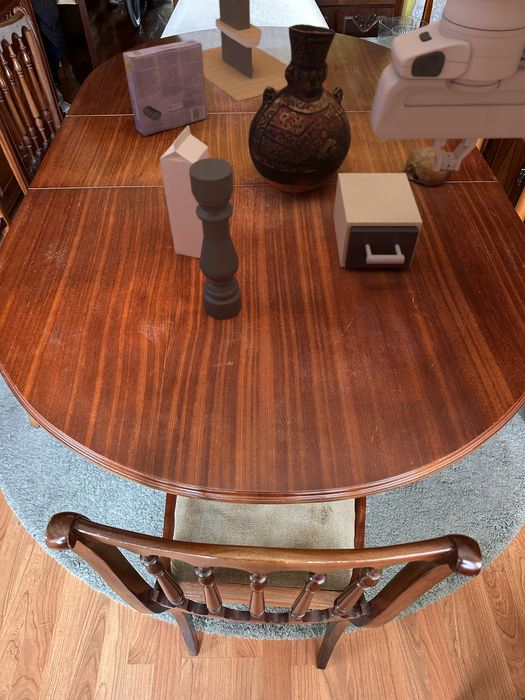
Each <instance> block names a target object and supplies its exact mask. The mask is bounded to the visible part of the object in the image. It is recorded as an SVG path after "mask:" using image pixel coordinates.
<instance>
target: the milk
mask: <svg viewBox="0 0 525 700" xmlns="http://www.w3.org/2000/svg"><path fill="white" fill-rule="evenodd" d="M209 155H210V154H209V146H207V145H206V144H205V143H204V142H202V141H201V140H200V139H198V138H197V137H196V136H194V135H193V134H191V129H190V125H187V126H186V127H185V128H184V129H183V130H182V131H181V133H180V134H179V135H178V136H177V137H176V139H174V141H173V143H172V144H171V145H169V147H168V148H167V150H166V151H165V152H164V153H163V154H162V155H161V156H160V158H159V164H160V169H161V175H162V176H161V177H162V181H163V182H162V183H163V189H164V194H165V199H166V200H165V201H166V205H167V212H168V218H169V223H170V229H171V236H172V241H173V248H174V253H175V254H177V255H182V256H185V257H186V256H187V257H192V258H196V259H200V255H201V249H202V242H203V227H202V220H200V219H199V218H198V216H197V214H196V207H197V206H198V205H199V204H198V202H197V201H196V199H195V198H194V196H193V194H192V191H191V183H190V175H189V169H190V166H191V165H192V164H193V163H194V162H197V161H199V160H201V159H207V158H210V156H209Z"/></svg>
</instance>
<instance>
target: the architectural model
mask: <svg viewBox="0 0 525 700" xmlns="http://www.w3.org/2000/svg"><path fill="white" fill-rule="evenodd" d="M218 7H219V9H218V10H219V18H216V19H215V27H216V28H217V29H218V30H220V40H221V45H220V46H217V47H212V48H211V47H210V48H208V49H202V54H203V71H204V79H205V80H207V81H209V82H211V83H212V84H213V85H215V86H216V87H217V88H219V89H220V90H221V91H223V92H224V93H225V94H227V95H229V97H231V98H232V99H234V100H235V101H236V102H240V101H241V102H242V101H244V100H248V99H251V98H255V97H259V96H263V92H264V89H265V88H266V87H268V86H271V87H273V88H274V89H275V90H277V91H280V90H281V89H282V88H284V87H286V86H287V81H286V79H285V70H286V68H287V66H288V65H289V64H286V63H285V62H283V61H281V60H280V59H278V58H277V57H274V56H273V55H271V54H269V53H268V52H266V51H265V50H262V49H261V48H259V47H258V46H260V42H261V38H262V29H260V28H259V27H258V26H256V25H253V24H252V23H251V2H250V0H218Z"/></svg>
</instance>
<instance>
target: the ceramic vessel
mask: <svg viewBox="0 0 525 700" xmlns="http://www.w3.org/2000/svg"><path fill="white" fill-rule="evenodd" d="M335 36H336V31H335V30H334V29H333V28H327V27H324V26H316V25H311V24H304V23H303V24H302V23H300V24H294V25H290V26H289V27H288V38H289V44H290V61H289V64H287V65H288V66H287V68H286V70H285V79H286V81H287V86H286V87H284V88H282V89H281V90H278V91H277V90H275V89H274V88H273V87H271V86H268V87H266V88H265V89H264V92H263V95H262V101H261V102H262V103H261V106H260V107H259V108H258V109H257V111H256V112H255V114H254V116H253V118H252V119H251V121H250V125H249V130H248V138H247V139H248V141H247V142H248V152H249V156H250V159H251V161H252V164H253V166H254V168H255V170H256V171H257V172H258V174H259V175H260V176H261V177H262V179H263V180H265V182H266V183H268V184H269V185H271V186H272V187H274V188H275V189H278V190H280V191H283V192H286V193H293V194H297V193H305V192H309V191H312V190H315V189H316V188H318V187H319V186H321V185H323V184H325V182H327V181H328V180H329V179H331V178H332V177H333V176H334V175H335V174H336V173H337V171H339V169H340V168H341V167H342V165H343V163H344V162H345V160H346V158H347V156H348V154H349V151H350V148H351V144H352V132H351V124H350V120H349V117H348V116H347V113H346V111H345V109H344V108H343V106H342V101H343V96H344V89H343V88H342V87H339V86H338V87H337V86H335V87H333V88H330V89H326V88H324V87H323V84H324V83H325V81H326V79H327V77H328V72H329V71H328V70H329V66H328V63H327V62H326V60H327V58H328V55H329V51H330V48H331V46H332V43H333V41H334V39H335Z"/></svg>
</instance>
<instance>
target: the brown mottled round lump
mask: <svg viewBox="0 0 525 700" xmlns="http://www.w3.org/2000/svg"><path fill="white" fill-rule="evenodd" d="M440 149H441V152H448V151H447V149H445V148H444V147H441V146H440ZM434 156H435V152H434V150H433V147H432V145H431V146H423V147H422V146H421V147H417V148H415V149H414V150H413V151H411V152H410V153H409V155H408V157H407V158H406V161H405V173H406V175H407V178H408V180H410V181H413V182H416V183H418V184H422V185H425V186H428V187H435V186H440V185H443V184H445V183H446V182H447V180H448V178H450V175H451V173H452V171H434V169H433V160H434Z"/></svg>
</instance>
